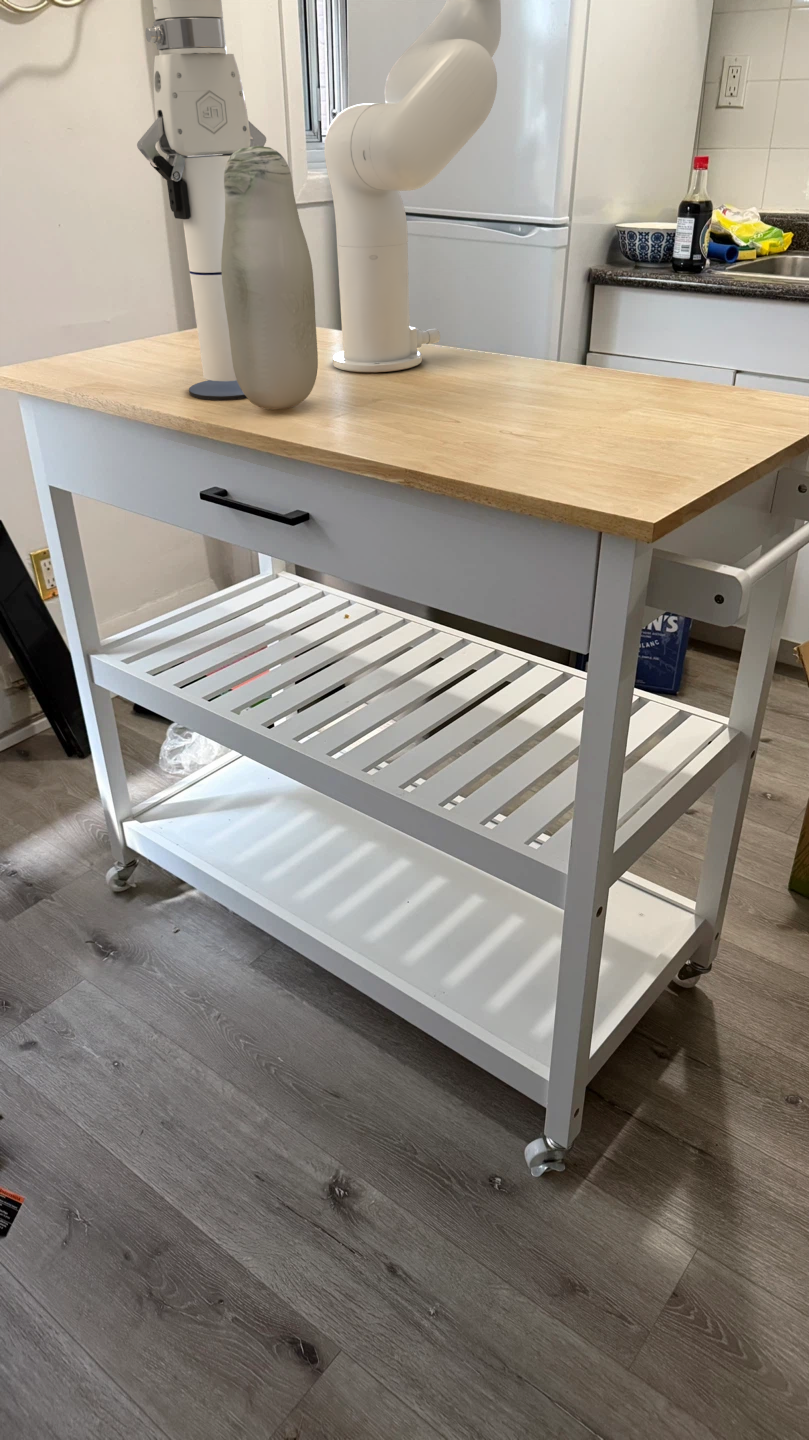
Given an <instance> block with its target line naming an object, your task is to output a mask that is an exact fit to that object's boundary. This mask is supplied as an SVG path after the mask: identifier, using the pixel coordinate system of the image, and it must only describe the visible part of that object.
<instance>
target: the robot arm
mask: <svg viewBox="0 0 809 1440" xmlns="http://www.w3.org/2000/svg"><path fill="white" fill-rule="evenodd" d="M222 3H223V2H222V0H152V7H153V8H152V9H153V14H154V21H153V25H152V27H146V28H145V39H146V41H147V42H148V43H154V44H156V50H158V54H159V55H154V60H153V62H154V63H153V103H154V104H153V105H154V106H153V107H154V119H155V121H154V122H153V123H152V124H151V125H150V126H149V128H148V129H147V131H145V132H144V134H142V136H141V137H140V139H139V140H138V141H137V143H136V147H137V150H138V151H139V152H140V153H141V154H142V155H143V157H144V158H145V159H146V160H147V161H148V162H149V164H150V166H151V167H152V168H153V169H154V170H155V171H156V172H157V173H158V174H159V175H160V176H161V178H162V179H163V181H166V186H167V193H168V200H169V206H170V210H171V212H173V217H174V218H175V219H178V220H183V219H189V218H190V217H191V214H190V206H189V198H188V190H187V184H186V182H185V181H182V173H183V170H184V167H185V158H187V157H188V156H199V155H232V154H233V153H234V152H236V151H237V150H239V149H241V148H247V147H253V146H263V147H265V146H266V143H267V137H266V135H265V133H264V134H263V132H262V131H260V129H258V128H257V127H256V126H255V125H254V124H253V123H252V122H251V121H250V120H249V117H248V111H247V110H248V109H247V104H246V98H245V93H244V88H243V83H242V78H241V75H240V71H239V68H238V64H237V61H236V57H235V54H234V53H228V52H227V43H226V34H225V23H224V14H223V13H224V12H223V4H222ZM501 5H502V4H501V0H445V3H444V5H443V7H442V8H441V10H440V11H439V13H437V15H436V17H435V18H434V19H433V20H432V21H431V23H429V25H428V26H427V27H426V28H425V29H424V30H423V31H422V32H421V33H420V34H419V36H418V37H417V38H416V39H415V40H414V41H413V42H412V43H411V44H410V45H409V47H408V48H407V49H406V50H405V51H404V52H403V53H402V54H401V55H400V56H399V57H398V59H397V60H396V61H395V62H394V64H393V65H392V67H391V68H390V71H389V72H388V75H387V77H386V80H385V83H384V100H385V101H384V102H385V103H384V102H379V103H378V102H376V103H359V104H355V105H352V106H349V107H347V108H345V109H343V110H342V111H340V112H339V113H337V115H336V116H335V117H334V118H333V119H332V121H331V123H330V124H329V126H328V129H327V131H326V133H325V134H326V135H325V137H324V138H325V140H324V161H325V167H326V172H327V177H328V181H329V185H330V190H331V195H332V201H333V209H334V217H335V231H336V234H335V235H336V252H337V253H336V254H337V269H338V270H337V271H338V287H339V303H340V317H341V318H340V319H341V336H342V338H341V339H342V351H339V352H337V353H335V354H334V355H333V356H332V365H333V366H334V367H335V368H336V369H338V370H342V371H347V372H354V373H386V372H397V371H401V370H408V369H411V368H414V367H417V366H419V365H420V364H421V363H422V361H423V360H422V359H423V358H422V357H423V355H422V353H421V351H419V350H418V349H419V348H421V347H422V346H423V345H431V344H438V343H439V342H440V340H441V334H440V331H439V329H438V328H429V329H424V330H422V329H420V328H419V329H418V328H417V327H414V326H411V319H410V315H411V314H410V286H409V285H410V283H409V282H410V281H409V280H410V279H409V249H408V248H409V247H408V242H409V235H408V221H407V220H408V219H407V215H406V214H407V213H406V209H405V205H404V201H403V198H402V195H401V192H407V191H408V192H410V191H416V190H418V189H421V188H422V187H425V186H426V185H428V184H429V183H430V182H431V181H433V180H434V179H435V178H436V177H437V176H439V174H440V173H441V172H442V171H443V170H444V169H445V168H446V166H447V165H448V164H449V163H451V161H452V160H453V159H454V157H456V155H457V154H458V153H459V152H460V151H461V149H463V148H464V146H466V144H467V143H468V142H469V140H471V138H472V137H473V136H474V135H475V134H476V133H477V132H478V131H479V129H480V128H481V127H482V126H483V124H484V123H485V121H486V120H487V118H489V117H488V116H489V115H490V113H491V110H492V108H493V105H494V103H495V100H496V95H497V91H498V73H497V68H496V65H495V62H494V60H493V57H494V56H495V53H496V52H497V50H498V48H499V44H500V40H501V35H502V8H501ZM157 143H158V146H159V148H160V150H161V151H162V152H163V153H164V154H165V155H166V158H165V157H164V156H162V155H161V154H160V153H159V151H158V150H157V148H156V146H157Z"/></svg>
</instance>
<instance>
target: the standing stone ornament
mask: <svg viewBox="0 0 809 1440" xmlns="http://www.w3.org/2000/svg"><path fill="white" fill-rule="evenodd" d="M224 192H225V224H224V233H223V245H222V259H221V271H222V284H223V293H224V301H225V308H226V315H227V321H228V328H229V337H230V346H231V355H232V362H233V368H234V373H235V376H236V379H237V382H238V384H239V386H240V388H241V390H242V391H243V393H244V394H245V396H246V397H247V398H246V399H247V400H248V401H249V402H251V403H252V404H253V405H255V406H257V407H258V408H261V409H265V410H269V411H270V410H287V409H291V408H293V407H296V406H298V405H300V404H301V403H302V402H304V401H305V400H306V399H307V398H308V397H309V395H310V394H311V393H312V391H313V388H314V386H315V383H316V380H317V375H318V369H319V367H318V366H319V352H318V338H317V337H318V336H317V322H316V321H317V319H316V298H315V284H314V281H315V280H314V271H313V270H314V269H313V263H312V257H311V254H310V250H309V246H308V242H307V239H306V235H305V233H304V230H303V226H302V223H301V220H300V219H301V218H300V216H299V210H298V207H297V202H296V196H295V191H294V183H293V176H292V171H291V169H290V165H289V164H288V163H287V161H286V159H285V157H284V156H283V155H282V154H281V153H280V152H279V151H277V150H276V149H274V148H272V147H269V146H264V147H263V146H253V147H247V148H241V149H239V150H237V151H236V152H234V153H233V154H232V155H231V156H230V158H229V159H228V161H227V164H226V167H225V172H224Z"/></svg>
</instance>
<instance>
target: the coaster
mask: <svg viewBox="0 0 809 1440" xmlns="http://www.w3.org/2000/svg"><path fill="white" fill-rule="evenodd" d="M188 394H189V395H190V396H191V397H193V398H195V399H200V400H206V401H234V400H245V399H248V398H247V397H246V396H245V394H244V393H243V391H242V390H241V388H240V386H239V384H238V382H237V380H236V381H212V380H207V379H206V380H204V381H200V382H197V383H195V384H192V385H191V386H189V388H188Z"/></svg>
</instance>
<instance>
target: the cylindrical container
mask: <svg viewBox="0 0 809 1440" xmlns="http://www.w3.org/2000/svg"><path fill="white" fill-rule="evenodd" d="M230 156H231V155H223V154H216V155H199V156H188V157H187V158H185V167H184V170H183V173H182V181H185V182H186V184H187V190H188V198H189V206H190V214H191V217H190V218H189V219H182V224H183V231H184V232H183V233H184V240H185V246H186V254H187V263H188V269H189V270H188V271H189V279H190V284H191V293H192V300H193V307H194V308H193V309H194V316H195V322H196V330H197V331H196V332H197V339H198V345H199V354H200V362H201V369H202V376H203V379H205V380H206V381H207V380H212V381H236V380H237V379H236V376H235V373H234V368H233V362H232V355H231V346H230V337H229V328H228V321H227V315H226V308H225V301H224V293H223V284H222V271H221V259H222V245H223V233H224V224H225V192H224V172H225V167H226V164H227V161H228V159H229V158H230Z"/></svg>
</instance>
